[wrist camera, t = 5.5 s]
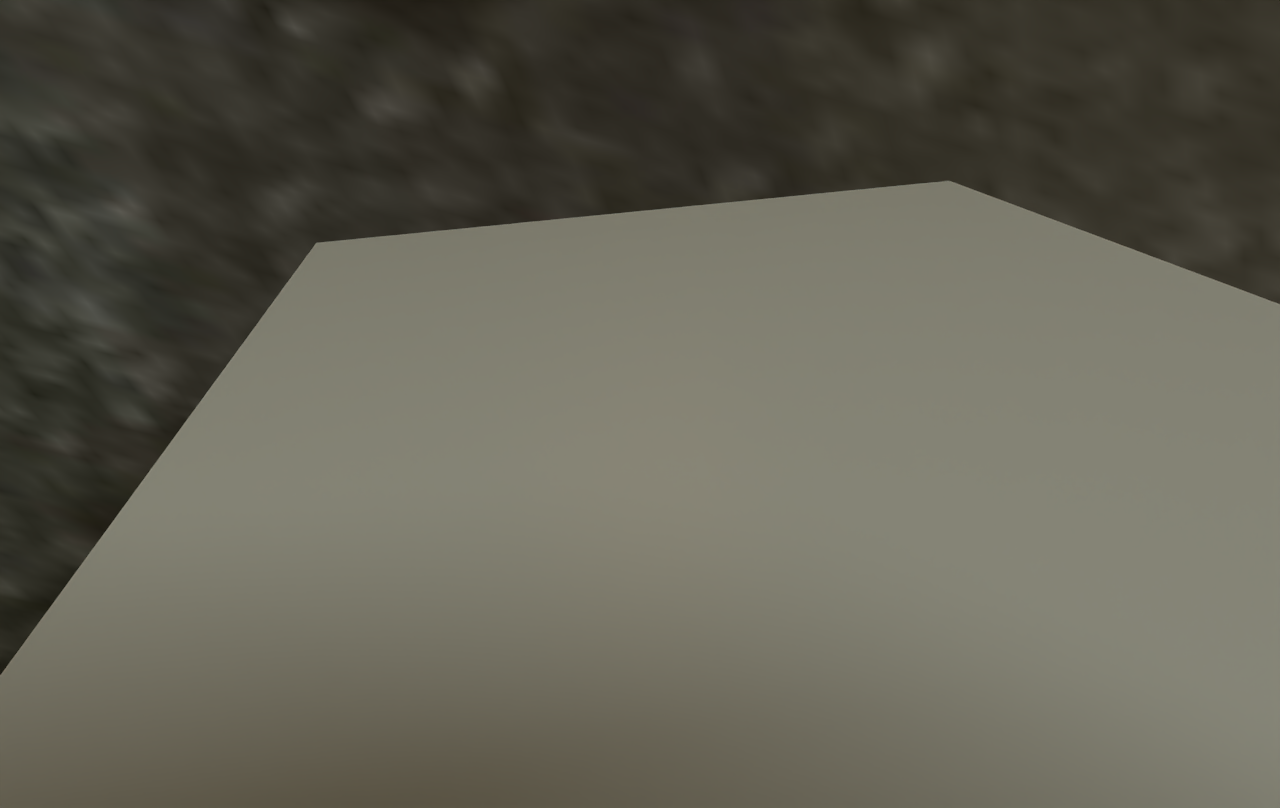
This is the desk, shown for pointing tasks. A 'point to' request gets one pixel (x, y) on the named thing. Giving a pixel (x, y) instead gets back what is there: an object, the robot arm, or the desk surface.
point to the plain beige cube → (695, 530)
